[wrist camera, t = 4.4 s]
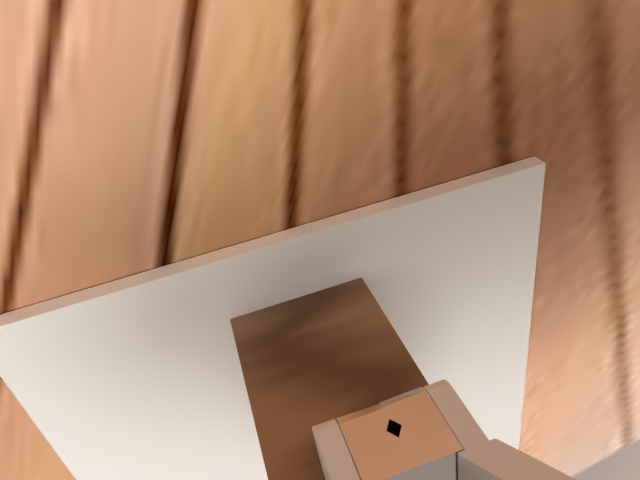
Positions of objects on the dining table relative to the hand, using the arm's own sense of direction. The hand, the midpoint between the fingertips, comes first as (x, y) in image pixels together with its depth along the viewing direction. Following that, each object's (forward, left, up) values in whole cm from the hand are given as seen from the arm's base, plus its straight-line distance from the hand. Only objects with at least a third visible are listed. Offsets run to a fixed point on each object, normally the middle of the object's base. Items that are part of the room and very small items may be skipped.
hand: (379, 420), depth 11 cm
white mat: (0, +14, -12) cm, 18 cm away
